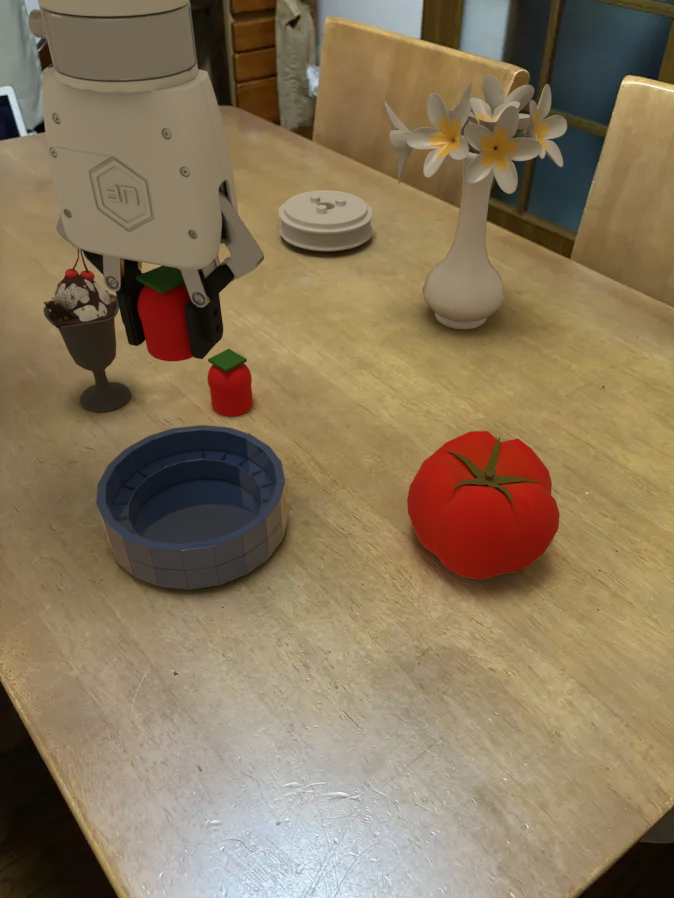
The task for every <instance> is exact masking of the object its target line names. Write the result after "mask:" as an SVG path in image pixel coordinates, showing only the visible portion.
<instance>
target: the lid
mask: <svg viewBox="0 0 674 898" xmlns="http://www.w3.org/2000/svg"><path fill="white" fill-rule="evenodd" d="M277 214H278V217H279V218H278V219H279V220H280V225H279V235H280V237H281V238H282V239H283V241H285V242H287V243H288V244H290V245H292V246H294V247H297V248H300V249H304V250H309V251H316V252H338V251H344V250H350V249H354V248H357V247H359V246H361V245H363V244H365V243H366V242H367V241H369V240H370V239H371V237H372V236H373V226H372V225H371V223H372V222H371V221H372V220H373V217H374V211H373V209H372V207H371V206H370V205H369V204H368V203H367V202H366V201H364V200H363V199H362V198H361V197H359V196H357V195H355V194H353V193H349V192H345V191H340V190H329V189H327V190H326V189H319V190H318V189H317V190H309V191H305V192H301V193H298V194H294V195H293V196H291V197H290V198H288V199H287V200H286V201H285V202H284V203H283V204H282V205H281V206H280V207H279V209H278V213H277Z"/></svg>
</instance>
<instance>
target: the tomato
mask: <svg viewBox="0 0 674 898" xmlns="http://www.w3.org/2000/svg"><path fill="white" fill-rule="evenodd" d="M552 481H553V480H552V478H551V473H550V470H549V469H548V467H547V466H546V465H545V463H544V462H543V461H542V460H541V458H540V457H539V456H538V454H537V453H536V452H535V451H534V450H533V448H531V447H530V446H529V445H527V443H525V442H524V441H523V440H521V439H520V438H512V439H508V440H504V441H503V440H502V441H501V436H499V437H498V438H497V437H496V436H495V435H493V434H492V433H491V432H490V431H488V430H478V431H477V430H476V431H475V430H473V431H468V432H465V433H463V434H461V435H459V436H457V437H454V438H452V439H450V440H448V441H446V442H445V443H444V444H442V445H441V446H440V447H439V448H438V449H437V450H435V452H433V453H432V454H431V455H430V456H428V457H427V458H426V459H425V460H423V462H422V463H421V465H420V467H419V469H418V471H417V472H416V474H415V476H414V478H413V479H412V481H411V483H410V485H409V489H408V492H407V499H406V505H407V514H408V517H409V520H410V523H411V525H412V527H413V530H414V532H415V535H416V537H417V539H418V540H419V542H420V543H421V544H422V546H423V547H424V548H425V550H428V551H429V552H430V553H432V554H434V555H435V556H437V557H438V559H439V561H440V562H441V564H443V566H444V567H445V568H446V569H448V570H449V571H451V572H453V573H454V574H456V575H458V576H460V577H465V578H469V579H475V580H480V581H481V580H486V579H490V578H494V577H497V576H501V575H505V574H506V575H507V574H511V573H513V574H514V573H517V572H522V571H523V570H525V569H526V568H528V567H529V566H531V565H532V564H534V562H536V561H538V560H539V559H540V558H541V557H542V556H544V554H545V553H546V551H547V549H549V547H550V545H551V543H552V542H553V540H554V538H555V536H556V534H557V532H558V531H559V529H560V528H559V527H560V516H561V514H560V510H559V507H558V503H557V501H556V499H555V497H554V496H553V495H552V488H553V487H552V486H553V483H552Z"/></svg>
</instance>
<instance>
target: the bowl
mask: <svg viewBox="0 0 674 898" xmlns="http://www.w3.org/2000/svg"><path fill="white" fill-rule="evenodd" d="M287 499H288V498H287V485H286V476H285V472H284V468H283V463H282V461H281V459H280V458H279V457H278V455H277V454H276V453H275V451H274V450H273V449H272V447H271V446H270V445H268V444H266V443H265V442H264V441H262V440H261V439H259V438H257V437H256V436H254V435H252V433H248V432H245V431H241V430H239V429H237V428H233V427H228V426H220V425H219V426H218V425H205V424H202V425H201V424H198V425H191V426H179V427H173V428H170V429H166V430H163V431H160V432H157V433H153V434H150V435H148V436H146V437H143V438H142V439H141V440H138V441H136V442H135V443H133V444H131V445H129V446H127V447H126V448H124V449H123V450H122V451H121V452H120V453H119V454H118V455H117V456H116V457H115V458H114V459H112V461H111V462H109V464H108V465H107V466H106V468H105V470H104V471H103V473H102V475H101V477H100V479H99V480H98V483H97V487H96V501H95V505H96V508H97V512H98V515H99V518H100V521H101V524H102V528H103V531H104V535H105V538H106V541H107V543H108V546H109V548H110V550H111V553H112V555H113V558H114V559H115V562H116V563H117V564H118V565H119V566H120V567H122V568H123V569H124V570H125V571H126V572H127V573H129V574H130V575H131V576H132V577H133V578H135V579H138V580H140V581H143V582H145V583H148V584H151V585H154V586H156V587H159V588H166V589H167V588H168V589H177V590H186V591H188V590H196V589H197V590H198V589H203V588H211V587H216V586H221V585H224V584H226V583H229V582H232V581H234V580H237V579H239V578H242V577H244V576H246V575H249V574H250V573H251V572H253V571H254V570H255V569H257V568H258V567H260V566H261V565H262V564H263V563H265V562H266V561H268V560H269V559H270V558H271V556H272V555H273V554H274V552H275V551H276V549H277V548H278V547H279V545H280V544H281V543H282V541H283V539H284V537H285V533H286V529H287V524H288V520H289V517H288V514H289V513H288V501H287Z"/></svg>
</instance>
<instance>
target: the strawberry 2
mask: <svg viewBox="0 0 674 898" xmlns="http://www.w3.org/2000/svg"><path fill="white" fill-rule="evenodd" d="M207 362H208V363H209V364H211V366H210V368H209V370H208V372H207V384H208V388H209V393H210V399H211V407H212V409H213V411H214V412H215V413H217V414H219V415H221V416H225V417H237V416H241V415H244V414H245V413H247V412H248V411H250V410H251V409H252V407H253V404H254V399H253V390H252V382H253V381H252V374H251V373H252V372H251V370H250V369H249V367H248V365H247V364H246V363H247V362H248V360H247V358H246V357H244V356H242V355H241V354H240V353H237V352H236V351H233V350H232V349H231V348H227V349H225V350H223V351H220V352H219V353H217V354H215V355H213V356H211V357H209V358H208V359H207Z"/></svg>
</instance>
